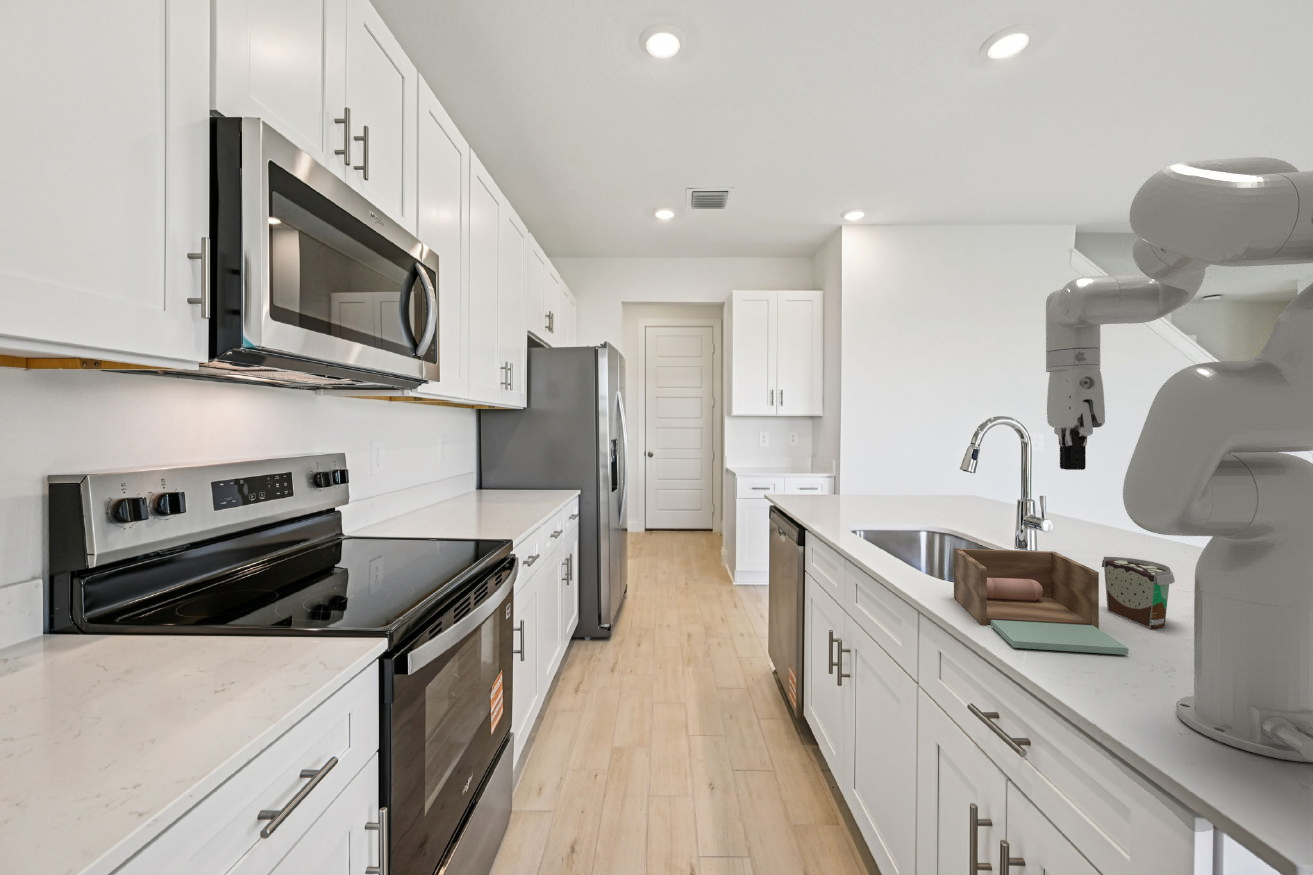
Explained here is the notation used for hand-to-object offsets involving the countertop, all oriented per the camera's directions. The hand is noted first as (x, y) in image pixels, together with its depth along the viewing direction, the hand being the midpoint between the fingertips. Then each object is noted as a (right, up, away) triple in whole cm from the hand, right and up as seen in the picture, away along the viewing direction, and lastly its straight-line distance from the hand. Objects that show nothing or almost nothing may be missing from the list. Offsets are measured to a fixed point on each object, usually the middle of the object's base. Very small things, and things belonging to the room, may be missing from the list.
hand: (1072, 469), depth 98 cm
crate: (-4, -27, +7) cm, 28 cm away
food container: (+15, -27, +3) cm, 31 cm away
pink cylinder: (-3, -26, +12) cm, 29 cm away
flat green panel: (-6, -27, -1) cm, 28 cm away
